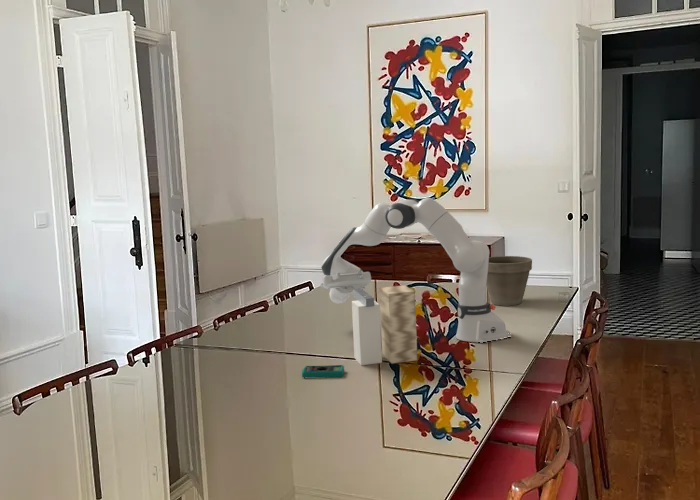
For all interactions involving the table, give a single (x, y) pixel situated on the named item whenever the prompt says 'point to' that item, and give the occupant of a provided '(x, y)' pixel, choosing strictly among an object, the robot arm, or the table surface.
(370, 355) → the block
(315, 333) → the table surface
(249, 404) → the table surface
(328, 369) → the digital multimeter
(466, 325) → the robot arm
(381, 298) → the tall stand
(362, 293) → the rod
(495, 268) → the plant pot
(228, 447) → the table surface
